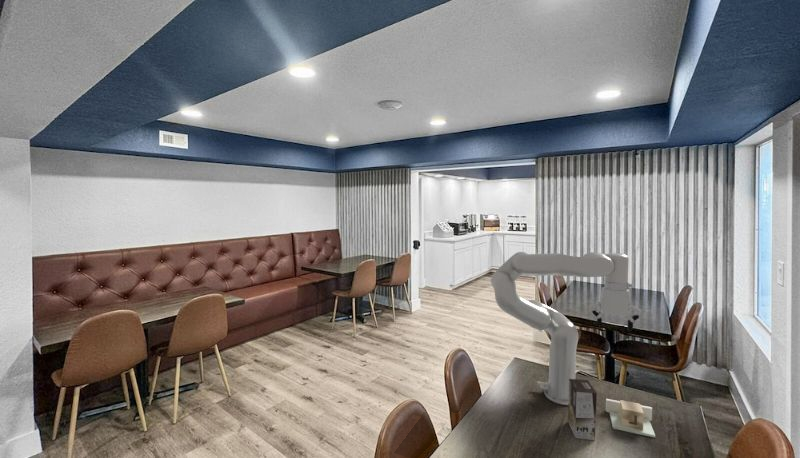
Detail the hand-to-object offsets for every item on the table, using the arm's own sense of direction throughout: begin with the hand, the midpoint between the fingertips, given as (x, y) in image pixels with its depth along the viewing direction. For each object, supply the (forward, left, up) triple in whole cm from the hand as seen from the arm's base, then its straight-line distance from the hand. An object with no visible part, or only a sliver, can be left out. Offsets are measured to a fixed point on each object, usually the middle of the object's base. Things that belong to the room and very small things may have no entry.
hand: (614, 329), depth 136 cm
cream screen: (+4, -10, -28) cm, 30 cm away
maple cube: (+4, -16, -27) cm, 32 cm away
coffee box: (-12, -26, -28) cm, 40 cm away
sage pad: (+4, -16, -28) cm, 32 cm away
